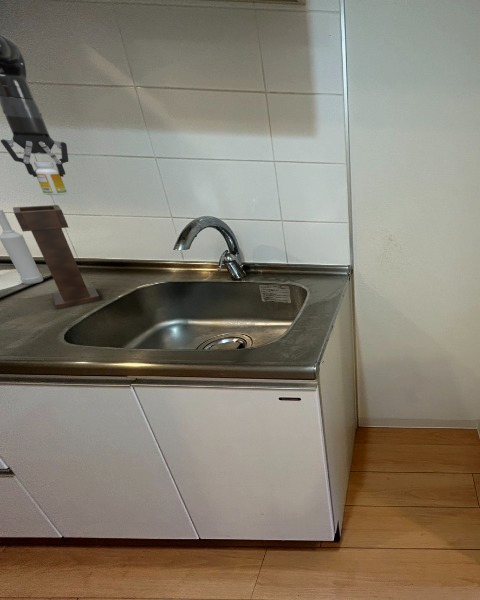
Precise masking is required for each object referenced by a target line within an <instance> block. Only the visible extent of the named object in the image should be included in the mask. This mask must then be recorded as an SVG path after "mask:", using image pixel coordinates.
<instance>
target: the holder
mask: <svg viewBox="0 0 480 600" xmlns="http://www.w3.org/2000/svg"><path fill="white" fill-rule="evenodd" d="M12 211H13V214H14V216H15V219H16V220H17V222H18V225H19V227H20V229H21V231H22V232H31V234H32V236H33V238H34V240H35V242H36V244H37V246H38V249H39V251H40V254H41V255H42V257H43V259H44V261H45V264H46V266H47V268H48V270H49V272H50V275H51V276H52V279H53V281H54V283H55V285H56V287H57V289H58V291H59V292H58V293H53V294H51V295H52V299H53V301H54V305H55V308H56V309H57V310H60V309H65V308H70V307H75V306H80V305H84V304H88V303H93V302H98V301H101V297H100V295H99V293H98V291H97V290H96V288H95V286H89V287H87V285H86V282H85V280H84V278H83V276H82V273H81V271H80V269H79V266H78V264H77V261H76V260H75V259H76V258H75V257H74V255H73V253H72V250H71V248H70V245H69V243H68V240H67V238H66V235H65V233H64V231H63V229H67V228H68V229H69V225H68V222H67V219H66V217H65V214H64V212H63V210H62V208H61V207H60V205H58V204H51V205H32V206H14V207H12Z"/></svg>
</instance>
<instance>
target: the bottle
mask: <svg viewBox="0 0 480 600" xmlns="http://www.w3.org/2000/svg"><path fill="white" fill-rule="evenodd" d="M0 227H1V229H2V233H1V234H0V243H1V244H2V246H3V247H4V250H5V252H6V253H7V255H8V257H9V259H10V260H11V262H12V264H13V265H14V267H15V269H16V271H17V273H18V275H19V276H20V281H21V282H22V283H23V284H25V285H33V284H38V283H42V282H43V281H44V277H43V275H42V274H41V272H40V270H39V268H38V266H37V264H36V262H35V259H34V257H33V255H32V252H31V250H30V248H29V245H28V244H27V242H26V239H25V237H24V235H23V233H22V234H21V233H19V232H17V231H15V229H13V228H12V226H11V224H10V222H9V220H8V218H7V215H6V213H5V212H4V210H3V209H0Z"/></svg>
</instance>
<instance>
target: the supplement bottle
mask: <svg viewBox="0 0 480 600" xmlns="http://www.w3.org/2000/svg"><path fill="white" fill-rule="evenodd" d="M33 164H34V166H35V168H36V169H34V171H35V174H36V176H37V177H36V178H37V181H38V183H39V186H40V189H41V190H42V193H43V194H44V195H47V196H61V195H62V196H63V195H67V194H68V192H67V189H66V186H65V184H64V181H63V179H62V177H61V176H60V173H59V171H58V169H55V168H54V164H53V162H52V161H34V162H33Z"/></svg>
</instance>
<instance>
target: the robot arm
mask: <svg viewBox="0 0 480 600" xmlns="http://www.w3.org/2000/svg"><path fill="white" fill-rule="evenodd" d="M25 61H26V60H25V58H24V56H23V54H22V52H21V50H20V48H19V47H18V45H17V44H16V43H15V42H14V41H13V40H11V38H10V37H7V36H6V35H3V34H1V33H0V107H1V110H2V113H3V114H4V116H5V119H6V121H7V123H8V126H9V128H10V131H11V133H12V138H7V139H4V138H2V139H0V143H1V145H2V146H3V147H4V148H5V150H6V151H7V152H8V154H9V155H10V157H11V158H12V159H13V161H14V162H19V163H22V164H24V166H25V168H26V171H27V173H28V174H29V175H30V176H32V177H33V178H37V176H36V174H35V169H34V167H33V164H32V163H31V155H32V154H43V155H46V154H47V155H48V156H49V157H50V158H51V159H52V160H53V161H54V162H55V167H56V170H57V171H59V173H60V176H61V178H62V177H65V176H66V171H65V168H64V166H63V165H64V164H65V163H68V162H69V154H68V153H69V152H68V145H67V143H66V142H64V141H57V140H53V138H52V137H51V136H50V133H49V130H48V128H47V125H46V123H45V121H44V118H43V114H42V113H41V110H40V108H39V106H38V104H37V102H36V100H35V97H34V95H33V93H32V90H31V87H30V85H29V83H28V73H27V67H26V63H25ZM14 143H15V144H16V145H18V146H19V147H21V148H22V149H24V150H23V155H22V157H19V156H18V155H17V154H16V152H15V151H14V149H13V147H14ZM54 145H55V146H56V147H57V148H58V149H59V150H60V153H61V158H58V156H57V155H56V154H55V153H54V152H53V151H52V149H53V147H54ZM64 175H65V176H64Z"/></svg>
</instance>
